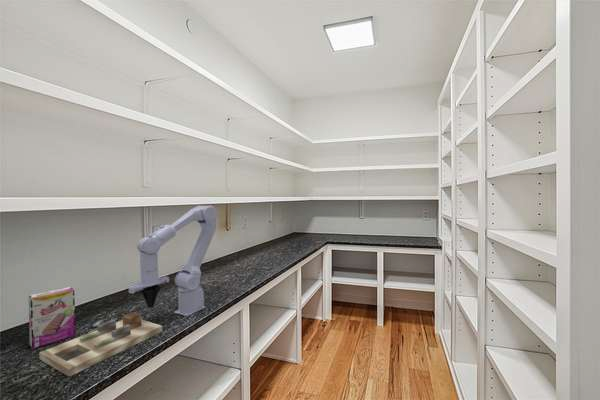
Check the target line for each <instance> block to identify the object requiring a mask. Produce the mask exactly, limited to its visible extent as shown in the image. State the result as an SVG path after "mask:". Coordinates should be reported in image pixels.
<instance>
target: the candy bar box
mask: <svg viewBox="0 0 600 400" xmlns="http://www.w3.org/2000/svg"><path fill="white" fill-rule="evenodd" d="M75 304H76V303H75V288H73V287H72V286H67V287H64V288H63V287H62V288H58V289H53V290H49V291H43V292H37V293H34V294H30V295H28V320H29V321H28V323H29V325H28V327H29V328H28V329H29V345H30V347H31V350H36V349H38V348H42V347H45V346H47V345H51V344H54V343H57V342H60V341H63V340H66V339H69V338H73V337H75V336H76V305H75Z"/></svg>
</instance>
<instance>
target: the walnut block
mask: <svg viewBox="0 0 600 400" xmlns="http://www.w3.org/2000/svg"><path fill="white" fill-rule="evenodd" d="M141 319H142V314H141V313H139V312H135V311H134V312H131V313H128V314H126V315H123V316H122V320H123V326H125V325H127V324H128V325H130V330H132V329H135V328H137V327H139V326H141Z"/></svg>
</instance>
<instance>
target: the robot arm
mask: <svg viewBox="0 0 600 400" xmlns="http://www.w3.org/2000/svg"><path fill="white" fill-rule="evenodd" d="M218 216H219V213H218V212H217V210H216V208H215V207H214V206H213V205H196V206H195V207H194V208H191V209H189V210H188V211H187V212H186V213H185V214H184V215H183V214H182V216H181V217H180V218H178V219H177V220H176V221H174V222H173V223H171V224H165V225H163V224H162V225H160V226H159V228H158V229H156V230H155V231H154V232H152V233H149V234H148V236H147V237H142V238H141V239H140V240H139V241H138V244H137V245H136V248H137V250H138V252H139V257H140V258H139V259H140V260H139V263H140V264H139V265H140V268H139V269H140V282H139V283H137V284H133V285H132V286H128V293H129V294H135V293H136V292H140V293H141V295H142V296H143V298H144V301H145V303H146V307H147V308H149V309H151V308H154V307H155V303H156V300H157V296H158V294H159V291H160V290H161V284H164V283H167V284H168V283H169V282H170V277H169V276H162V277H159V258H158V257H159V256H158V252H159V251H160V249H161V247H162V246H163V245H165V244H166V243H168V242H169V241H170V240H171V239H173V238H174V237H176V235H177V232H178V231H179V230H181V229H182V228H184V227H186V226H187V225H189V224H191V223H192V222H196V221H197V223H198V224H199V226H200V228H201V230H200V232H199V235H198V238H197V239H196V242H195V245H194V246H193V249H192V251H191V254H190V256H189V258H188V260H187V263H186V264H185V265H183V266H182V267H181V269H180V271H178V273H177V274H176V276H175V277H174V284H175V285H176V286H177V287H178V288H177V294H178V295H177V297H178V299H177V300H178V309H177V310H175V311H173V313H174V314H176V315H177V314H178V315H182V316H184V317H189V316H190V315H193V314H195V313H197V312H199V311H201V310H203V309H205V308H206V306H205V300H204V299H205V296H204V290H203V288H202V287H201V286H200V284H201V276H202V271H201V266H202V263H203V261H204V258H205V257H206V254H207V251H208V249H209V246H210V245H211V242H212V240H213V238H214V236H215V235H214V234H215V233H216V230H217V218H218Z"/></svg>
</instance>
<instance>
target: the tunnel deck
mask: <svg viewBox="0 0 600 400" xmlns="http://www.w3.org/2000/svg"><path fill="white" fill-rule="evenodd" d="M96 327H97V329H96V330H93V331H91V332H89V333H86V334H83V335H81V336H78V337H76V338H74V339H71V340H68V341H65V342H63V343H60V344H58V345H55V346H53V347H49V348H47V349H45V350H43V351H40V352H39V353H38V354H39V355H38V356H39V360H41V361H42V362H43V363H45V364H47V365H49V366H50V367H52V368H53V369H55V370H57V371H58V372H61V373H62V374H64V375H65V376H66V377H71V376H73V375H76V374H77V373H80V372H81V371H84V370H86V369H87V368H88V369H89V368H90V367H92V366H94V365H97V364H99V363H100V362H103V361H104V360H107V359H108V358H111V357H113V356H115V355H117V354H119V353H121V352H123V351H125V350H127V349H129V348H131V347H133V346H135V345H137V344H140V343H141V342H143V341H146V340H148V339H150V338H152V337H154V336H156V335H158V334H160V333H162V332H163V325H160V324H157V323H154V322H151V321H147V320H144V319H142V318H141V326H139V327H137V328H135V329H132V330H130V325H128V324H127V325H125V326H123V319H121V320H119V321H117V320H115V319H111V320H109V321H106V322H104V323H101V324H97V326H96Z"/></svg>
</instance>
